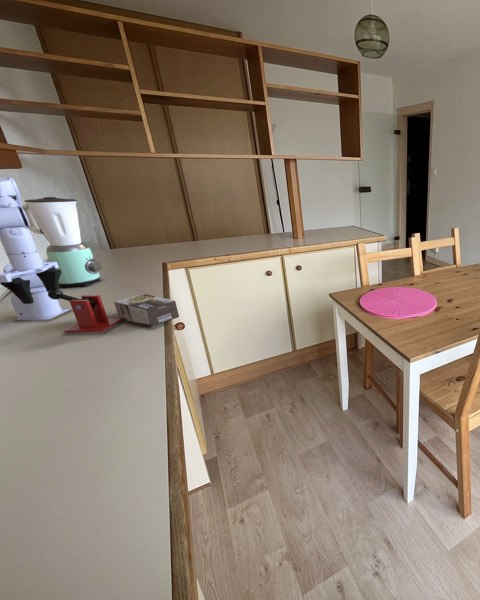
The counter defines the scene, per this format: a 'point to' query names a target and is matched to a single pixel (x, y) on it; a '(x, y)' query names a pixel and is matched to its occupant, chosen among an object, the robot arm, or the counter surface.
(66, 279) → the mint green blender
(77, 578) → the counter surface
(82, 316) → the lever bracket
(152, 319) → the coffee box
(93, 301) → the lever
